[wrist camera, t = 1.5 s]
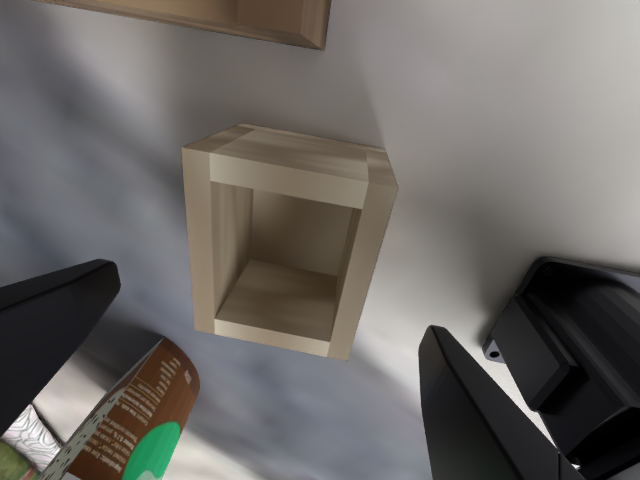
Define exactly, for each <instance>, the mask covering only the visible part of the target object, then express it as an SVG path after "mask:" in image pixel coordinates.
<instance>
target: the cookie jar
mask: <svg viewBox="0 0 640 480" xmlns="http://www.w3.org/2000/svg"><path fill="white" fill-rule="evenodd" d="M61 448H62V446H61V445H60V444H59V443H58V442H57V440H56V439H55V438H54V437H53V436H52V434H51V433H50V432H49V431H48V429H47V428H46V427H45V426H44V425H43V423H42V422H41V421H40V420H39V418H38V416H37V414H36V412H35V410H34V408H33V406H32V405H30V404H29V405H28V407H27V408H26V409H25V410H24V411H23V412H22V414H21V415H20V416H19V417H18V418H17V419H16V421H15V422H14V423H13V424H12V425H11V426H10V428H9V429H8V430H7V431H6V432H5V433H4V435H3V436H2V437H1V438H0V480H36V479H37V478H38V476H39V475H40V474H41V473H42V471H43V470H44V469H45V468H46V467H47V465H48V464H49V463H50V462H51V460H52V459H53V458H54V457H55V455H56V454H57V453H58V452H59V451H60V449H61Z"/></svg>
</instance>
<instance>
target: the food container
mask: <svg viewBox="0 0 640 480" xmlns="http://www.w3.org/2000/svg"><path fill="white" fill-rule="evenodd" d="M199 389H200V380H199V376H198V373H197V371H196V369H195V367H194V365H193V364H192V362H191V361H190V359H189V358H188V357H187V356H186V355H185V353H184V352H183V351H182V350H181V349H180V348H178V347H177V346H176V345H175V344H174V343H172V342H171V341H170V340H168V339H167V338H166V337H163V338H162V339H161V340H160V341H159V342H158V343H157V344H156V345H155V346H154V347H153V348H152V349H151V350H150V351H149V352H148V353H147V354H146V355H145V356H144V357H143V358H142V359H141V360H140V361H138V362H137V363H136V364H135V365H134V366H133V367H132V368H131V369H130V370H129V371H128V372H127V373H126V374H125V375H124V376H123V377H122V378H121V379H120V380H119V381H118V382H117V383H116V384H115V385H114V386H113V387H112V388H111V389H110V390H109V391H108V392H107V393H106V394H105V395H104V396H103V398H102V399H101V400H100V401H99V402H98V404H97V405H96V406H95V407H94V409H93V410H92V411H91V412H90V414H89V415H88V416H87V417H86V418H85V420H84V421H83V422H82V423H81V425H80V426H79V427H78V428H77V430H76V431H75V432H74V433H73V435H72V436H71V437H70V438H69V439H68V441H67V442H66V443H65V444H64V446H63V447H62V448H61V449H60V451H59V452H58V453H57V454H56V455H55V457H54V458H53V459H52V460H51V462H50V463H49V464H48V465H47V467H46V468H45V469H44V470H43V471H42V473H41V474H40V475H39V476H38V478H37V479H36V480H162V478H163V475H164V473H165V471H166V468H167V466H168V463H169V461H170V459H171V456H172V454H173V452H174V449H175V447H176V445H177V442H178V440H179V438H180V435H181V433H182V431H183V428H184V426H185V423H186V421H187V419H188V416H189V414H190V412H191V409H192V407H193V405H194V402H195V400H196V398H197V395H198V392H199Z"/></svg>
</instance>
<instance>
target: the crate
mask: <svg viewBox="0 0 640 480" xmlns="http://www.w3.org/2000/svg"><path fill="white" fill-rule="evenodd" d="M33 1H39V2H45V3H51V4H57V5H62V6H68V7H74V8H80V9H86V10H91V11H97V12H103V13H109V14H114V15H120V16H126V17H132V18H138V19H143V20H149V21H155V22H161V23H167V24H172V25H178V26H184V27H190V28H195V29H201V30H207V31H213V32H219V33H224V34H230V35H236V36H242V37H248V38H253V39H259V40H265V41H271V42H276V43H282V44H288V45H294V46H300V47H305V48H311V49H317V50H323V51H325V43H326V36H327V28H328V21H329V14H330V6H331V0H33Z"/></svg>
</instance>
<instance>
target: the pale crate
mask: <svg viewBox="0 0 640 480" xmlns="http://www.w3.org/2000/svg"><path fill="white" fill-rule="evenodd" d="M181 154H182V167H183V180H184V194H185V207H186V220H187V233H188V247H189V260H190V273H191V286H192V300H193V313H194V326H195V330H197V331H202V332H207V333H212V334H217V335H222V336H227V337H232V338H236V339H241V340H246V341H251V342H256V343H261V344H266V345H271V346H276V347H281V348H286V349H291V350H296V351H300V352H305V353H310V354H315V355H320V356H325V357H330V358H335V359H340V360H345V361H347V360H348V357H349V354H350V350H351V347H352V343H353V340H354V337H355V333H356V330H357V326H358V323H359V320H360V316H361V313H362V309H363V306H364V303H365V299H366V296H367V292H368V289H369V286H370V282H371V279H372V275H373V272H374V269H375V265H376V262H377V258H378V255H379V252H380V248H381V245H382V241H383V238H384V235H385V231H386V228H387V224H388V221H389V218H390V214H391V211H392V207H393V204H394V201H395V197H396V194H397V190H398V185H397V182H396V179H395V177H394V174H393V171H392V168H391V165H390V162H389V159H388V156H387V153H386V150H385V149H382V148H376V147H371V146H365V145H360V144H354V143H349V142H343V141H338V140H332V139H327V138H321V137H316V136H310V135H305V134H299V133H294V132H288V131H283V130H277V129H272V128H266V127H261V126H255V125H250V124H244V123H241V124H239V125H236V126H234V127H231V128H229V129H226V130H224V131H221V132H219V133H216V134H214V135H211V136H209V137H206V138H204V139H201V140H199V141H196V142H194V143H191V144H189V145H186V146H184V147H181Z"/></svg>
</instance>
